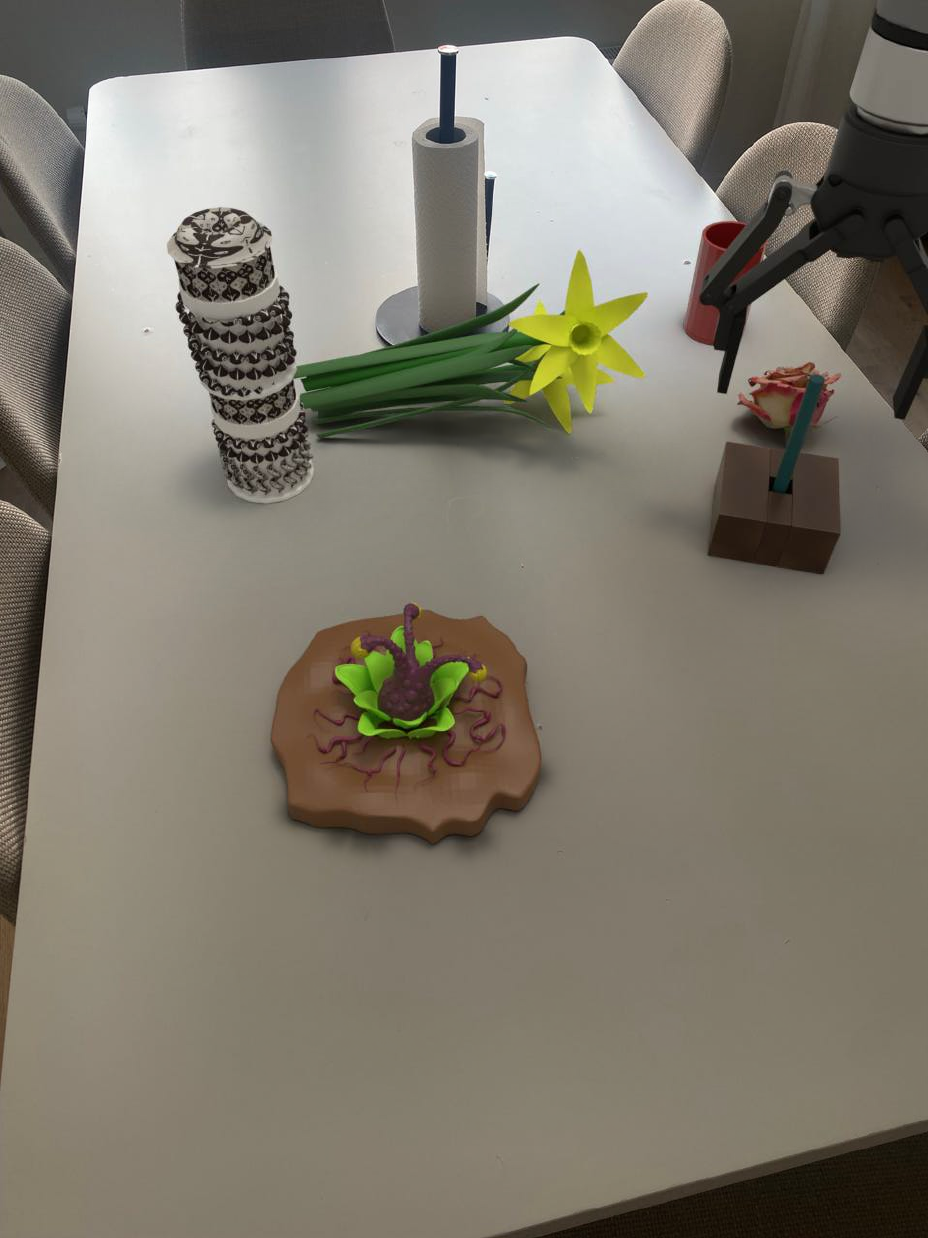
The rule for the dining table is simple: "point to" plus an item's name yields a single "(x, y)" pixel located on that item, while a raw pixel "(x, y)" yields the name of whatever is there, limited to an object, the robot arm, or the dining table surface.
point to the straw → (798, 432)
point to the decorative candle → (243, 351)
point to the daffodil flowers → (481, 363)
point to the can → (711, 248)
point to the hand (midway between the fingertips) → (809, 396)
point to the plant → (407, 726)
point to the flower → (786, 396)
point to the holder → (775, 509)
